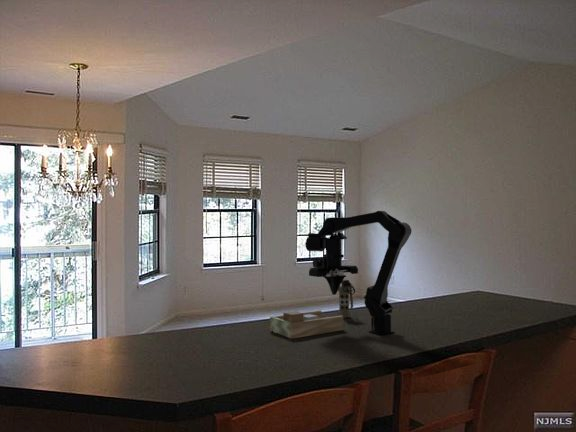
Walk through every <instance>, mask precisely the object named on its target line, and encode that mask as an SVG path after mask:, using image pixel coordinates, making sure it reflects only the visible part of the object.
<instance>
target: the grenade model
mask: <svg viewBox="0 0 576 432" xmlns="http://www.w3.org/2000/svg"><path fill="white" fill-rule="evenodd" d="M337 292H339V293H338V296H339V298H338V300H339V301H338V303H339V311H338V312H337V316H341V315H342V316H343V319H349V318H350V317H351V315H352V313H351V311H350V310H352V309H353V308H354V300H353V295H354V294H355V293H356V289H355V287H354V285H353V284H352V283H351V282H350V281H349V279H345V278H344V279H343V281H342V282H341V285H340V286H339V289H338V291H337Z"/></svg>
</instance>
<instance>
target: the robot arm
mask: <svg viewBox="0 0 576 432" xmlns="http://www.w3.org/2000/svg"><path fill="white" fill-rule="evenodd" d="M377 223H378V224H379V225H380V226H381V227H382V228H384V230H386V231H387V232H388V234H387V249H386V252H385V254H384V258H383V260H382V263H381V266H380V268H379V272H378V274H377V277H376V280H375V283H374V284H373V285H371V286H368V287H367V288H366V293H365V295H364V297H363V299H364V305H365V307H366V309H367V310H368V312H369V314H370V317H371V320H370V321H371V322H370V323H371V324H370V325H371V329H369V330H368V333H372V334H376V335H380V336H382V335H383V336H384V335H389V334H394V333H395V330H392V315H391V314H392V312H393V310H394V307H393V305H391V304H390V303H389V301H388V296H389V295H388V294H389V292H388V291H389V289H388V288H389V287H388V286H389V284H390V281H391V278H392V275H393V272H394V271H395V270H394V269H395V267H396V264H397V261H398V259H399V256H400V253H401V250H402V249H403V247H404V246H405V244H406V243H407V242H408V240H409V239H410V236H411V235H412V228H411V226H410V225H409V223H408V222H407V223H406V222H402V221H400V220H399V219H397V218H396V217H394V216H392V215H391V214H389V213H387V212H386V211H385V210H376V211H373V212H370V213H364V214H363V213H362V214H356V215H354V216H349V217H345V216H344V217H341V216H340V217H336V216H335V217H334V216H333V217H326V218H325V219H324V221H323V225H322V226H321V228H320V230H319V231H318V233H314V232H310V233H309V232H308V233H307V238H306V239H305V244H304V245H305V248H306V249H305V250H307V251H308V252H324V251H325V254H324V253H323V257H322V259H320V258H319V257H316V258H312V267H310V268H309V270H308V277H309V276H310V277H316V278H321V277H322V278H324V279H325V280H326V281H327V283H328V286H329V289H330V292H331V295H333V296H335V295H337V294H338V292H339V291H338V289H339V286H341V285H342V283H341V282H342V281H343V280H345V278H346V277H347V275H345V273H350V274H352V275H354V274H355V275H356V274H357V275H358V274H359V268H358V266H357V265H352V264H345V265H342V263H343V261H342V260H343V258H344V257H345V255H344V254H342V240H347V239H348V238H347V236H346V235H344V233H343V232H344V231H346V230H349V229H350V228H355V227H361V226H365V225H371V224H377ZM327 236H329V237H327Z"/></svg>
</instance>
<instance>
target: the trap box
mask: <svg viewBox="0 0 576 432" xmlns="http://www.w3.org/2000/svg"><path fill="white" fill-rule="evenodd" d="M302 313H303V315H307V314H311V315H316V316H318V319H314V320H307V321H300V322H293V323H292V322H289V321H285V320H283V314H282V315H275V316H269V325H270V326H269V331H270V332H272V331H273V332H272V333H274V334H277V333H278V335H281V336H282V337H283V336H284V337H287V338H289V339H296V338H304V337H309V336H314V335H316V336H317V335H321V334H327V333H333V332H339V331H344V318H343V316H342V315H341V316H338V315H336V316H328V317H322V310H321V309H319V310H313V311H304V312H302Z"/></svg>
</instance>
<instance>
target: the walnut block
mask: <svg viewBox="0 0 576 432" xmlns="http://www.w3.org/2000/svg"><path fill="white" fill-rule="evenodd" d="M282 313H283V314H282V315H283V320H285V321H289V322H292V323H293V322H300V321H304V315H303V312H300V311H297V310H292V311H285V312H282Z"/></svg>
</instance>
